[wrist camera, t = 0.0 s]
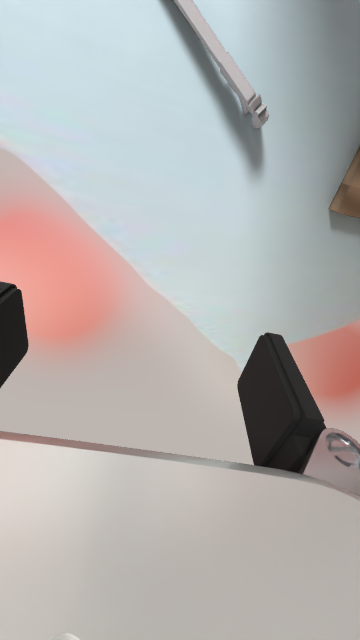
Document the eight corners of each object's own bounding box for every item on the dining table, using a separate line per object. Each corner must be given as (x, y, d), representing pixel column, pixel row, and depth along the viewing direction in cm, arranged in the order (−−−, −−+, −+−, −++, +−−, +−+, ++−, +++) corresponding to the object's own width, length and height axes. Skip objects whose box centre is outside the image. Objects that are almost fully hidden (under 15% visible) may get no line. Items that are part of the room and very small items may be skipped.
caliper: (260, 121, 32) (275, 117, 27) (253, 129, 32) (266, 126, 27) (132, -85, 24) (117, -148, 19) (124, -71, 24) (107, -130, 19)
